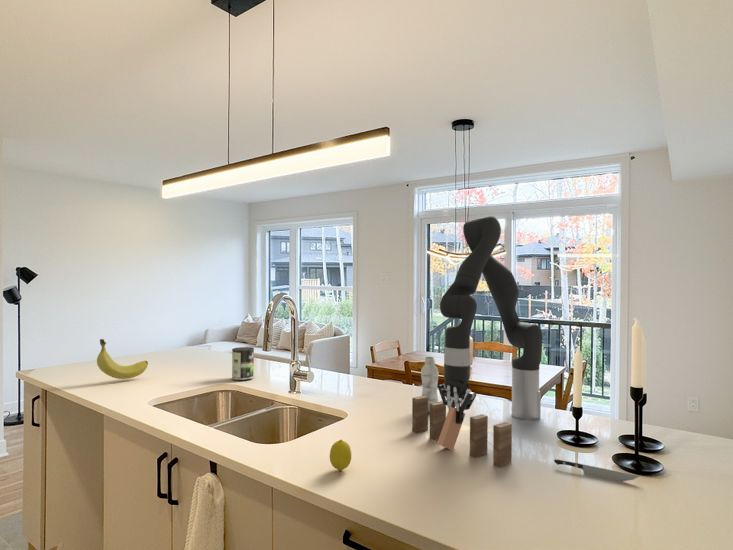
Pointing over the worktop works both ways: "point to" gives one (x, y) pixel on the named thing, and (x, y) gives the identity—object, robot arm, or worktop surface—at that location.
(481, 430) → the domino
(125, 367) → the banana
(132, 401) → the worktop surface
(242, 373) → the coffee can
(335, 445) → the lemon
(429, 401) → the plastic bottle
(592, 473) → the chef's knife
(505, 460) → the domino
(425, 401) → the domino
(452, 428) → the domino
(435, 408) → the domino
